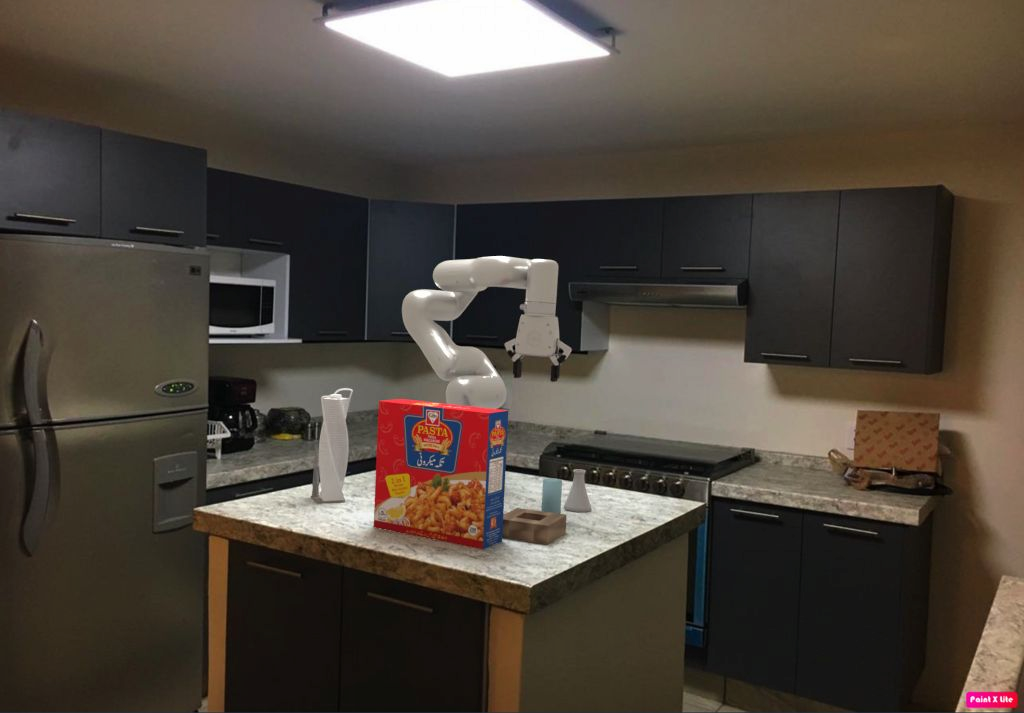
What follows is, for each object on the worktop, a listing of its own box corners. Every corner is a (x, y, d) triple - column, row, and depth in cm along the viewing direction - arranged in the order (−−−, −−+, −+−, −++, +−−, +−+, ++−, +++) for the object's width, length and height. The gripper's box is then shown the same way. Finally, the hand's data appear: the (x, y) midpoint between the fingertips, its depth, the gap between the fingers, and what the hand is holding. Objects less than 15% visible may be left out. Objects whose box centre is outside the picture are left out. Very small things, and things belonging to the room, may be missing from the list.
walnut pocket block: (495, 536, 183) (496, 518, 183) (516, 525, 194) (516, 507, 194) (547, 544, 178) (548, 525, 178) (565, 532, 189) (566, 514, 189)
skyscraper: (343, 495, 216) (348, 386, 215) (352, 502, 209) (356, 389, 208) (310, 497, 212) (314, 386, 211) (317, 504, 205) (322, 389, 204)
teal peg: (538, 523, 197) (540, 480, 197) (544, 519, 201) (546, 477, 201) (556, 525, 195) (558, 482, 195) (562, 521, 199) (564, 479, 199)
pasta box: (373, 527, 186) (378, 401, 185) (395, 520, 193) (400, 398, 192) (482, 549, 172) (489, 413, 171) (502, 541, 179) (508, 410, 178)
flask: (589, 514, 209) (592, 473, 209) (561, 511, 211) (563, 471, 210) (593, 508, 216) (595, 469, 216) (565, 505, 218) (567, 466, 217)
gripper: (501, 307, 207) (497, 377, 208) (568, 311, 200) (563, 383, 201) (513, 308, 214) (509, 375, 215) (578, 312, 207) (573, 382, 208)
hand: (535, 379), depth 208 cm, fingers open, 9 cm apart
